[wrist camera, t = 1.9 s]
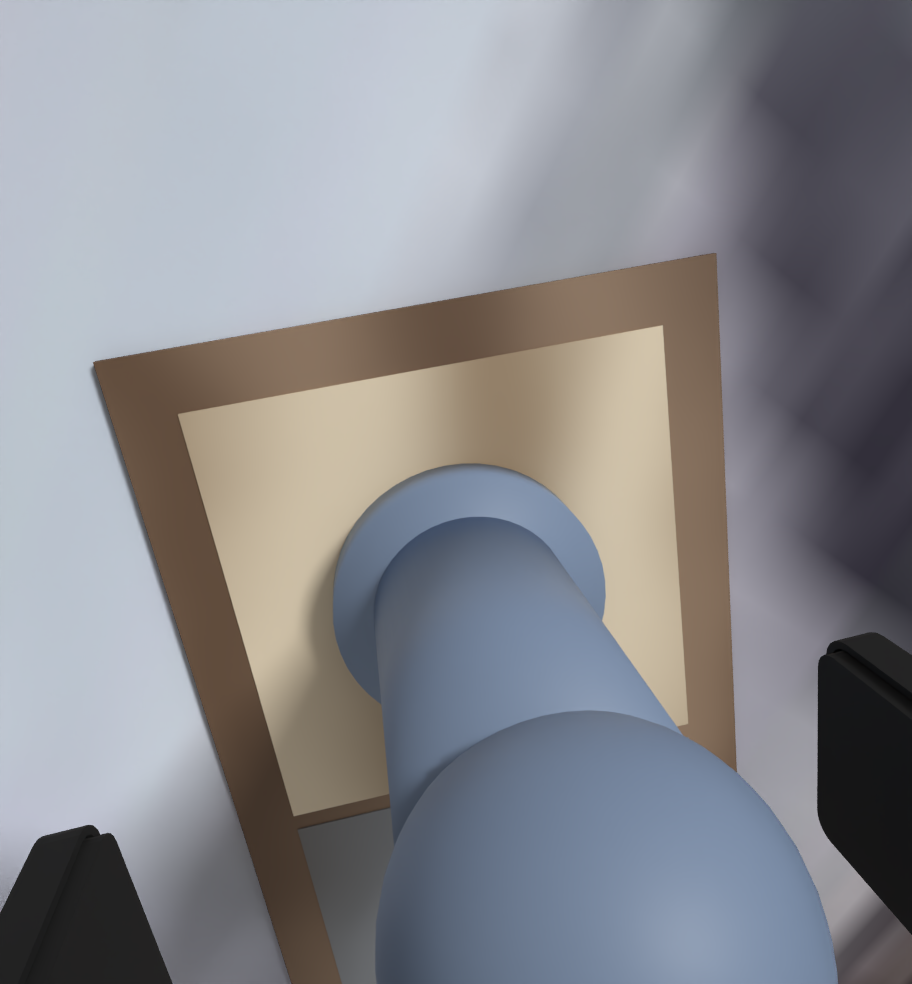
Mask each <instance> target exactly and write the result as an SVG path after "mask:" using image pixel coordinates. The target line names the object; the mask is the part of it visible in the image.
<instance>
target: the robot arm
mask: <svg viewBox="0 0 912 984" xmlns="http://www.w3.org/2000/svg"><path fill="white" fill-rule="evenodd" d="M817 811H818V817H819V821H820V824H821V826H822V829H823V831H824V832H825V834H826V836H827V837H828V839H829V840H830V841H831V843H832V844H833V845H834V846H835V847H836V848H837V850H838V851H839V852H840V853H841V854H842V855H843V856H844V858H845V859H846V860H847V861H848V862H849V863H850V864H851V866H852V867H853V868H854V869H855V870H856V871H857V872H858V874H859V875H860V876H861V877H862V878H863V879H864V881H865V882H866V883H867V884H868V885H869V886H870V887H871V889H872V890H873V891H874V892H875V893H876V894H877V895H878V897H879V898H880V899H881V900H882V901H883V902H884V903H885V905H886V906H887V907H888V908H889V909H890V910H891V911H892V913H893V914H894V915H895V916H896V917H897V918H898V920H899V921H900V922H901V923H902V924H903V925H904V926H905V928H906V929H907V930H908V931H909V932H910V933H911V934H912V655H911V654H909V653H908V652H906V651H905V650H903V649H902V648H900V647H899V646H897V645H896V644H894V643H893V642H891V641H890V640H888V639H887V638H885V637H884V636H882V635H880V634H878V633H872V632H870V633H865V634H861V635H857V636H853V637H849V638H845V639H841V640H837V641H834V642H832V643H830V645H829V646H828V648H827V653H826V655H824V656H822V657H821V658H820V660H819V663H818V786H817ZM0 984H172V981H171V979H170V976H169V974H168V971H167V968H166V966H165V963H164V961H163V958H162V956H161V953H160V951H159V948H158V946H157V943H156V941H155V938H154V935H153V933H152V930H151V928H150V925H149V923H148V920H147V918H146V915H145V913H144V910H143V907H142V905H141V902H140V900H139V897H138V895H137V892H136V890H135V887H134V885H133V882H132V879H131V877H130V874H129V872H128V869H127V867H126V864H125V862H124V859H123V857H122V854H121V852H120V849H119V846H118V844H117V841H116V840H115V838H114V836H113V835H112V834H111V833H106V834H102V835H100V833H99V831H98V829H96V828H95V827H94V826H93V825H86V826H82V827H78V828H74V829H70V830H66V831H62V832H58V833H54V834H50V835H46V836H42V837H41V838H39V839H38V840H37V841H36V843H35V844H34V846H33V847H32V849H31V851H30V854H29V856H28V858H27V860H26V862H25V864H24V866H23V868H22V870H21V872H20V874H19V876H18V878H17V880H16V882H15V884H14V886H13V888H12V890H11V892H10V894H9V896H8V898H7V901H6V903H5V905H4V907H3V909H2V911H1V913H0Z"/></svg>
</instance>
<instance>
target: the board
mask: <svg viewBox="0 0 912 984" xmlns="http://www.w3.org/2000/svg"><path fill="white" fill-rule="evenodd" d="M93 364H94V367H95V370H96V373H97V376H98V379H99V383H100V386H101V389H102V392H103V395H104V398H105V401H106V405H107V408H108V411H109V414H110V417H111V420H112V423H113V426H114V430H115V433H116V436H117V439H118V442H119V445H120V448H121V451H122V455H123V458H124V461H125V464H126V467H127V470H128V473H129V476H130V480H131V483H132V486H133V489H134V492H135V495H136V498H137V501H138V505H139V508H140V511H141V514H142V517H143V520H144V523H145V527H146V530H147V533H148V536H149V539H150V542H151V545H152V548H153V552H154V555H155V558H156V561H157V564H158V567H159V570H160V573H161V577H162V580H163V583H164V586H165V589H166V592H167V595H168V598H169V602H170V605H171V608H172V611H173V614H174V617H175V620H176V624H177V627H178V630H179V633H180V636H181V639H182V642H183V645H184V649H185V652H186V655H187V658H188V661H189V664H190V667H191V670H192V674H193V677H194V680H195V683H196V686H197V689H198V692H199V695H200V699H201V702H202V705H203V708H204V711H205V714H206V717H207V720H208V724H209V727H210V730H211V733H212V736H213V739H214V742H215V746H216V749H217V752H218V755H219V758H220V761H221V764H222V767H223V771H224V774H225V777H226V780H227V783H228V786H229V789H230V792H231V796H232V799H233V802H234V805H235V808H236V811H237V814H238V817H239V821H240V824H241V827H242V830H243V833H244V836H245V839H246V843H247V846H248V849H249V852H250V855H251V858H252V861H253V864H254V868H255V871H256V874H257V877H258V880H259V883H260V886H261V889H262V893H263V896H264V899H265V902H266V905H267V908H268V911H269V914H270V918H271V921H272V924H273V927H274V930H275V933H276V936H277V939H278V943H279V946H280V949H281V952H282V955H283V958H284V961H285V965H286V968H287V971H288V974H289V977H290V980H291V983H292V984H377V982H376V973H375V940H376V919H377V913H378V908H379V902H380V896H381V891H382V885H383V880H384V876H385V873H386V870H387V867H388V864H389V861H390V858H391V855H392V852H393V849H394V841H393V829H392V818H391V807H390V796H389V784H388V773H387V762H386V751H385V739H384V728H383V717H382V706H381V704H380V703H379V702H377V701H376V700H375V699H374V698H372V697H371V696H370V695H369V694H368V693H367V692H366V691H365V690H364V689H363V688H362V687H361V686H360V685H359V684H358V683H357V681H356V680H355V678H354V677H353V675H352V674H351V673H350V671H349V670H348V668H347V666H346V664H345V662H344V660H343V658H342V656H341V653H340V650H339V647H338V644H337V641H336V637H335V631H334V625H333V584H334V576H335V569H336V565H337V561H338V558H339V554H340V551H341V549H342V547H343V544H344V542H345V540H346V538H347V536H348V534H349V532H350V531H351V529H352V528H353V526H354V524H355V523H356V521H357V520H358V519H359V518H360V516H361V515H362V514H363V513H364V511H365V510H366V509H367V508H368V507H369V506H370V505H371V504H372V503H373V502H374V501H375V500H376V499H377V498H378V497H380V496H381V495H382V494H384V493H385V492H386V491H388V490H389V489H390V488H392V487H393V486H395V485H396V484H398V483H400V482H402V481H404V480H406V479H407V478H409V477H411V476H414V475H416V474H419V473H421V472H424V471H426V470H430V469H434V468H438V467H441V466H446V465H454V464H462V463H480V464H488V465H496V466H500V467H504V468H508V469H511V470H515V471H517V472H519V473H522V474H524V475H527V476H529V477H531V478H532V479H534V480H536V481H538V482H539V483H541V484H543V485H544V486H545V487H547V488H548V489H549V490H550V491H552V492H553V493H554V494H555V495H556V496H557V497H558V498H559V499H560V500H561V501H562V502H563V503H564V504H565V505H566V506H567V507H568V508H569V510H570V511H571V512H572V513H573V514H574V515H575V516H576V517H577V519H578V520H579V521H580V522H581V523H582V525H583V526H584V528H585V529H586V530H587V532H588V533H589V535H590V536H591V538H592V540H593V542H594V544H595V546H596V548H597V550H598V553H599V556H600V559H601V562H602V565H603V571H604V577H605V590H606V599H605V608H604V615H603V619H602V622H603V623H604V625H605V626H606V627H607V629H608V630H609V632H610V633H611V634H612V636H613V637H614V639H615V640H616V641H617V643H618V644H619V646H620V647H621V649H622V650H623V651H624V653H625V654H626V656H627V657H628V658H629V660H630V661H631V663H632V664H633V665H634V667H635V668H636V670H637V671H638V672H639V674H640V675H641V677H642V678H643V680H644V681H645V682H646V684H647V685H648V687H649V688H650V689H651V691H652V692H653V694H654V695H655V696H656V698H657V699H658V701H659V702H660V703H661V705H662V706H663V708H664V709H665V710H666V712H667V713H668V715H669V716H670V718H671V719H672V720H673V722H674V723H675V725H676V726H677V727H678V729H679V730H680V732H681V733H682V734H683V736H685V737H687V738H689V739H691V740H692V741H694V742H696V743H698V744H700V745H701V746H703V747H704V748H706V749H707V750H708V751H710V752H711V753H713V754H714V755H715V756H717V757H718V758H720V759H721V760H722V761H723V762H725V763H726V764H727V765H728V766H729V767H731V768H732V769H733V770H734V771H736V772H737V768H736V742H735V717H734V691H733V666H732V640H731V615H730V590H729V564H728V539H727V513H726V488H725V462H724V437H723V411H722V386H721V360H720V335H719V310H718V284H717V259H716V253H711V254H706V255H700V256H694V257H688V258H683V259H677V260H671V261H666V262H660V263H654V264H648V265H643V266H637V267H631V268H626V269H620V270H614V271H608V272H603V273H597V274H591V275H586V276H580V277H574V278H568V279H563V280H557V281H551V282H546V283H540V284H534V285H529V286H523V287H517V288H511V289H506V290H500V291H494V292H489V293H483V294H477V295H471V296H466V297H460V298H454V299H449V300H443V301H437V302H431V303H426V304H420V305H414V306H409V307H403V308H397V309H391V310H386V311H380V312H374V313H369V314H363V315H357V316H351V317H346V318H340V319H334V320H329V321H323V322H317V323H311V324H306V325H300V326H294V327H289V328H283V329H277V330H271V331H266V332H260V333H254V334H249V335H243V336H237V337H231V338H226V339H220V340H214V341H209V342H203V343H197V344H191V345H186V346H180V347H174V348H169V349H163V350H157V351H151V352H146V353H140V354H134V355H129V356H123V357H117V358H111V359H106V360H100V361H95V362H93Z"/></svg>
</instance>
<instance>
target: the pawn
mask: <svg viewBox="0 0 912 984" xmlns="http://www.w3.org/2000/svg"><path fill="white" fill-rule="evenodd" d="M605 599H606V590H605V577H604V571H603V565H602V562H601V559H600V556H599V553H598V550H597V548H596V546H595V544H594V542H593V540H592V538H591V536H590V535H589V533H588V532H587V530H586V529H585V528H584V526H583V525H582V523H581V522H580V521H579V520H578V519H577V517H576V516H575V515H574V514H573V513H572V512H571V511H570V510H569V508H568V507H567V506H566V505H565V504H564V503H563V502H562V501H561V500H560V499H559V498H558V497H557V496H556V495H555V494H554V493H553V492H552V491H550V490H549V489H548V488H547V487H545V486H544V485H543V484H541V483H539V482H538V481H536V480H534V479H532V478H531V477H529V476H527V475H524V474H522V473H519V472H517V471H515V470H511V469H508V468H504V467H500V466H496V465H488V464H480V463H462V464H454V465H446V466H441V467H438V468H434V469H430V470H426V471H424V472H421V473H419V474H416V475H414V476H411V477H409V478H407V479H406V480H404V481H402V482H400V483H398V484H396V485H395V486H393V487H392V488H390V489H389V490H388V491H386V492H385V493H384V494H382V495H381V496H380V497H378V498H377V499H376V500H375V501H374V502H373V503H372V504H371V505H370V506H369V507H368V508H367V509H366V510H365V511H364V513H363V514H362V515H361V516H360V518H359V519H358V520H357V521H356V523H355V524H354V526H353V528H352V529H351V531H350V532H349V534H348V536H347V538H346V540H345V542H344V544H343V547H342V549H341V551H340V554H339V558H338V561H337V565H336V569H335V576H334V584H333V625H334V631H335V637H336V641H337V644H338V647H339V650H340V653H341V656H342V658H343V660H344V662H345V664H346V666H347V668H348V670H349V671H350V673H351V674H352V675H353V677H354V678H355V680H356V681H357V683H358V684H359V685H360V686H361V687H362V688H363V689H364V690H365V691H366V692H367V693H368V694H369V695H370V696H371V697H372V698H374V699H375V700H376V701H377V702H379V703H380V704H381V706H382V717H383V728H384V739H385V751H386V762H387V773H388V784H389V796H390V807H391V818H392V829H393V841H394V849H393V852H392V855H391V858H390V861H389V864H388V867H387V870H386V873H385V876H384V880H383V885H382V891H381V896H380V902H379V908H378V913H377V919H376V940H375V973H376V982H377V984H838V978H837V968H836V962H835V956H834V950H833V944H832V939H831V935H830V931H829V927H828V923H827V920H826V916H825V913H824V910H823V907H822V904H821V901H820V897H819V894H818V891H817V889H816V887H815V885H814V883H813V881H812V878H811V876H810V874H809V872H808V870H807V868H806V866H805V864H804V862H803V859H802V857H801V855H800V853H799V851H798V849H797V847H796V845H795V844H794V842H793V841H792V839H791V838H790V836H789V835H788V833H787V832H786V830H785V829H784V827H783V826H782V824H781V823H780V821H779V820H778V819H777V817H776V816H775V814H774V813H773V811H772V810H771V809H770V807H769V806H768V805H767V804H766V803H765V801H764V800H763V799H762V798H761V797H760V796H759V795H758V794H757V793H756V791H755V790H754V789H753V788H752V787H751V786H750V785H749V784H748V783H747V782H746V781H745V780H744V779H743V778H742V777H741V776H740V775H739V774H738V773H737V772H736V771H734V770H733V769H732V768H731V767H729V766H728V765H727V764H726V763H725V762H723V761H722V760H721V759H720V758H718V757H717V756H715V755H714V754H713V753H711V752H710V751H708V750H707V749H706V748H704V747H703V746H701V745H700V744H698V743H696V742H694V741H692V740H691V739H689V738H687V737H685V736H683V734H682V733H681V732H680V730H679V729H678V727H677V726H676V725H675V723H674V722H673V720H672V719H671V718H670V716H669V715H668V713H667V712H666V710H665V709H664V708H663V706H662V705H661V703H660V702H659V701H658V699H657V698H656V696H655V695H654V694H653V692H652V691H651V689H650V688H649V687H648V685H647V684H646V682H645V681H644V680H643V678H642V677H641V675H640V674H639V672H638V671H637V670H636V668H635V667H634V665H633V664H632V663H631V661H630V660H629V658H628V657H627V656H626V654H625V653H624V651H623V650H622V649H621V647H620V646H619V644H618V643H617V641H616V640H615V639H614V637H613V636H612V634H611V633H610V632H609V630H608V629H607V627H606V626H605V625H604V623H603V622H602V619H603V615H604V608H605Z"/></svg>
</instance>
